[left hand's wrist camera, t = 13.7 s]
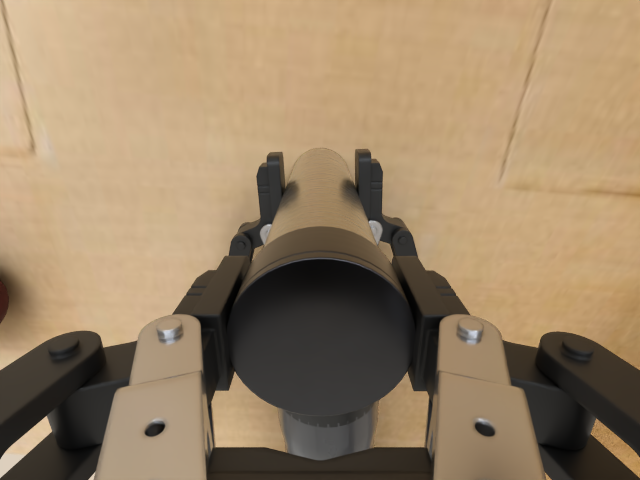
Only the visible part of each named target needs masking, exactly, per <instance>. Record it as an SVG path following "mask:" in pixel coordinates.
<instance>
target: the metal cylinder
mask: <svg viewBox="0 0 640 480" xmlns="http://www.w3.org/2000/svg"><path fill="white" fill-rule="evenodd" d="M315 226H328V227H336V228H342V229H345V230H348V231H351V232H354V233H356V234H358V235H361V236H363V237H364V238H366V239H367V240H369V241H371V242H372V243H373V244H374V245H376V246H377V247H378V245H377V243H376V240H375V237H374V235H373V232H372V230H371V227H370V224H369V222H368V219H367V217H366V214H365V211H364V209H363V206H362V204H361V201H360V199H359V196H358V193H357V191H356V188H355V186H354V183H353V180H352V178H351V175H350V173H349V170H348V167H347V165H346V163H345V161H344V160H343V159H342V157H341V156H340V155H338V154H337V153H336V152H334V151H332V150H329V149H325V148H316V149H312V150H309V151H307V152H305V153H304V154H302V155H301V156H300V157H299V159H298V160H297V161H296V163H295V165H294V168H293V170H292V173H291V176H290V178H289V181H288V183H287V186H286V189H285V191H284V194H283V197H282V199H281V202H280V205H279V207H278V210H277V213H276V215H275V218H274V221H273V223H272V226H271V229H270V231H269V234H268V236H267V239H266V242H265V244H264V247H265V246H266V245H268V244H269V243H270V242H272V241H273V240H275V239H276V238H278V237H280V236H282V235H284V234H286V233H288V232H291V231H294V230H297V229H301V228H306V227H315ZM264 247H263V248H264Z"/></svg>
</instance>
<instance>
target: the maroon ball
mask: <svg viewBox="0 0 640 480" xmlns="http://www.w3.org/2000/svg"><path fill="white" fill-rule="evenodd" d="M8 302H9V297H8V293H7V289H6V287H5V286H4V285H3V283H2V282H1V281H0V323H1V322H2V320H3V318H4V317H5V315H6V312H7V309H8Z"/></svg>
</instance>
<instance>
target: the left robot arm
mask: <svg viewBox="0 0 640 480" xmlns="http://www.w3.org/2000/svg"><path fill="white" fill-rule="evenodd" d="M249 266H250V259H249V257H248V256H225V257H224V259H223V260H222V262H221V264H220V265H219V267H218V269H217V270H208V271H207V272H205V273H204V274H202V275H201V276H199V277H198V278H197V279H196V280H195V282H194V283H193V285H192V286H191V288H190V289H189V290H188V292H187V293H186V296H184V298H183V299H182V301H181V302H180V304H179V305H178V307H177V308H176V310H175V311H174V313H173V314H172V315H169V316H165V317H161V318H159V319H156V320H154V321H152V322H151V323H149V324H147V325H146V326H145V327H144V328H143V329H142V330H141V332H140V333H139V336H138V341H134V342H130V343H125V344H120V345H115V346H110V347H105V348H103V345H102V341H101V338H100V336H99V335H98V334H97V333H95V332H91V331H75V332H70V333H66V334H62V335H59V336H57V337H54V338H52V339H50V340H48V341H46V342H44V343H42V344H41V345H39V346H37V347H36V348H34V349H33V350H31V351H30V352H28V353H27V354H25V355H24V356H22V357H20V358H19V359H17V360H16V361H14V362H13V363H11V364H10V365H8V366H6V367H5V368H3V369H2V370H0V459H1V457H2V455H3V454H4V453H5V451H6V450H7V449H8V448H9V447H10V446H11V445H12V444H13V443H15V442H16V441H17V440H18V439H19V438H21V437H22V436H23V435H24V434H25V433H27V432H28V431H29V430H30V429H31V428H32V427H34V426H35V425H36V424H37V423H38V422H40V421H41V420H42V419H43V418H44V417H46V416H47V418H48V420H49V423H50V426H51V429H52V432H51V433H50V434H49V435H48V436H47V437H46V438H45V439H43V440H42V441H41V442H40V443H39V444H38V445H37V446H36V447H35V448H33V449H32V450H31V451H30V452H29V453H28V454H27V455H26V456H25V457H24V458H22V459H21V460H20V461H19V462H18V463H17V464H16V465H15V466H13V467H12V468H11V469H10V470H9V471H8V472H7V473H6V474H5V475H3V476H2V477H1V478H0V480H88V479H89V478H90V477H91V476H92V475H93V474H94V472H95V471H96V472H95V476H94V480H546V476H545V472H546V474H547V475H548V476H549V477H550V478H551V479H552V480H640V478H639V477H638V476H637V475H635V474H634V473H633V472H632V471H631V470H630V469H629V468H628V467H627V466H625V465H624V464H623V463H622V462H621V461H620V460H619V459H618V458H617V457H615V456H614V455H613V454H612V453H611V452H610V451H609V450H608V449H607V448H605V447H604V446H603V445H602V444H601V443H600V442H599V441H598V440H597V439H595V438H594V437H593V436H592V435H591V431H592V428H593V425H594V423H595V420H596V418H597V419H598V420H599V421H600V422H602V423H603V424H604V425H605V426H606V427H608V428H609V429H610V430H611V431H612V432H613V433H615V434H616V435H617V436H618V437H619V438H621V439H622V440H623V441H624V442H625V443H627V444H628V445H629V446H630V447H631V448H632V449H633V450H634V451H635V452H636V453H637V454H638V456H639V457H640V370H638V369H637V368H635V367H634V366H632V365H630V364H629V363H627V362H626V361H624V360H623V359H621V358H620V357H618V356H616V355H615V354H613V353H612V352H610V351H609V350H607V349H606V348H604V347H603V346H601V345H599V344H598V343H596V342H594V341H592V340H590V339H587V338H585V337H582V336H579V335H576V334H572V333H566V332H550V333H546V334H544V335H543V336H542V337H541V339H540V343H539V347H538V348H536V347H531V346H525V345H520V344H515V343H511V342H507V341H503V340H502V336H501V333H500V332H499V330H498V329H497V328H496V327H495V326H494V325H493V324H491V323H489V322H488V321H486V320H484V319H481V318H479V317H475V316H471V315H470V314H469V312H468V311H467V309H466V308H465V306H464V305H463V304H462V302H461V301H460V299H459V298H458V296H456V293H455V292H454V290H453V289H451V286H450V285H449V283H448V282H447V280H446V279H445V278H444V277H443V276H441V275H439V274H438V273H436V272H435V271H426V270H425V269H424V267H423V265H422V264H421V262H420V260H419V259H418V257H417V256H394V257H393V259H392V266H393V268H394V270H395V273H396V275H397V277H398V280H399V282H400V284H401V287H402V289H403V291H404V294H405V296H406V298H407V301H408V303H409V305H410V308H411V310H412V313H413V316H414V319H415V323H416V334H415V343H414V351H413V359H412V363H411V365H410V367H409V369H408V375H409V378H410V381H411V384H412V387H413V390H414V391H427V392H428V394H429V403H428V410H427V422H426V434H425V446H424V447H375V448H371V449H367V450H363V451H359V452H355V453H351V454H347V455H343V456H339V457H335V458H331V459H327V460H313V459H309V458H305V457H301V456H297V455H293V454H289V453H285V452H281V451H277V450H273V449H269V448H265V447H216V446H215V434H214V422H213V410H212V403H211V401H212V399H213V396H214V393H215V391H229V388H230V385H231V382H232V378H233V375H234V372H235V370H234V368H233V366H232V364H231V361H230V357H229V348H228V340H227V329H226V324H227V321H228V317H229V313H230V311H231V309H232V306H233V304H234V301H235V299H236V297H237V294H238V292H239V289H240V287H241V285H242V282H243V280H244V278H245V275H246V273H247V271H248V268H249ZM544 471H545V472H544Z"/></svg>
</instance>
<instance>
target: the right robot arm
mask: <svg viewBox="0 0 640 480" xmlns="http://www.w3.org/2000/svg"><path fill="white" fill-rule="evenodd" d="M382 181H383V171H382V168H381V166H380V163H379V162H378V161H377V160H376V159H371V152H370V151H369V150H368V149H356V150H355V188H356V191H357V193H358V196H359V199H360V201H361V204H362V206H363V209H364V211H365V214H366V217H367V219H368V222H369V224H370V227H371V230H372V232H373V235H374V237H375V240H376V243H377V245H378V243H379V240H380V241H383V242H386V243H389V244H390V245H391V249H392V252H393V256H417V257H418V255H417V252H416V248H415V244H414V240H413V237H412V234H411V233H410V231H409V230H408V228H407V227H406V225H405V224H404V222H403V221H402V220H401V219H399V218H390V217H387V216H385V215H383V214H382ZM257 186H258V195H259V205H260V215H261V218H260V219H259V220H257V221H254V222H252V223H249V222H247V223H244V224H242V225H241V226H240V228H239V230H238V233H237V234H236V235H235V236H234V238H233V239H232V241H231V246H230V251H229V256H248V257H249V259H250V264H251V263H252V258H253V253H254V249H255V248H256V247H259V246H261V245H264V244H265V242H266V239H267V236H268V234H269V231H270V229H271V226H272V223H273V221H274V218H275V215H276V213H277V210H278V207H279V205H280V202H281V199H282V197H283V194H284V191H285V176H284V162H283V153H282V152H270V153H269V154H268V155H267V163H262V164H261V166H260V167H259V170H258V173H257ZM378 401H379V400H378ZM378 401H376V402H375V403H373V404H371V405H369V406H367V407H364V408H362V409H359V410H357V411H353V412H349V413H346V414H340V415H333V416H309V415H302V414H297V413H293V412H289V411H286V410H283V409H280V408H278V414H279V421H280V426H281V430H282V433H283V436H284V440H285V448H286V453H289V454H293V455H297V456H301V457H305V458H309V459H313V460H327V459H331V458H335V457H339V456H343V455H347V454H351V453H355V452H359V451H363V450H367V449H371V448H374V435H375V431H376V426H377V420H378Z"/></svg>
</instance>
